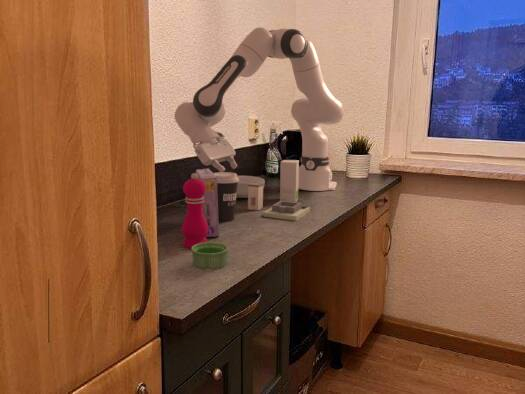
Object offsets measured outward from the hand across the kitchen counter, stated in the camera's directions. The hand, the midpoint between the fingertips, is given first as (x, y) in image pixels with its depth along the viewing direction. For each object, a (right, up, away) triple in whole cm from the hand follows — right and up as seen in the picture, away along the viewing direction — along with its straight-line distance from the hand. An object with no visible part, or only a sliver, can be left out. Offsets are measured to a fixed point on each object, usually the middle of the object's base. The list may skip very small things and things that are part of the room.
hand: (229, 169), depth 177 cm
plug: (+9, -14, -1) cm, 17 cm away
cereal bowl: (+4, -10, +19) cm, 22 cm away
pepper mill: (-7, -23, -44) cm, 50 cm away
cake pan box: (-5, -20, -28) cm, 35 cm away
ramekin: (-1, -27, -58) cm, 64 cm away
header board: (+20, -16, -8) cm, 27 cm away
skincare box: (+22, -12, +13) cm, 28 cm away
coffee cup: (-1, -18, -16) cm, 24 cm away
